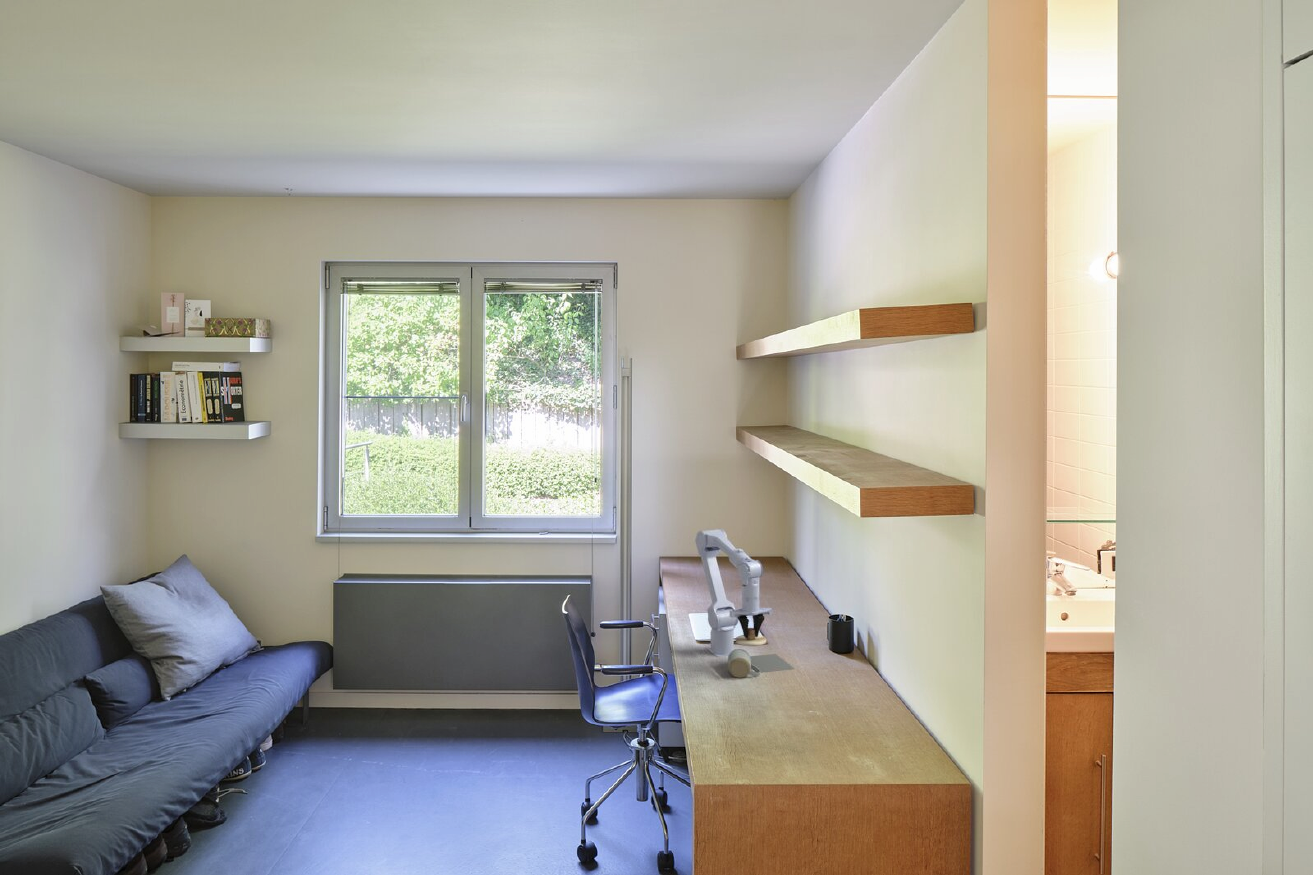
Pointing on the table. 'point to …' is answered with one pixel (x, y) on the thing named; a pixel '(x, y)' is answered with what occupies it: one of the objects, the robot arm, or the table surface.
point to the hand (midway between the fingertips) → (750, 636)
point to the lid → (751, 639)
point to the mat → (770, 663)
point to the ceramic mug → (741, 664)
